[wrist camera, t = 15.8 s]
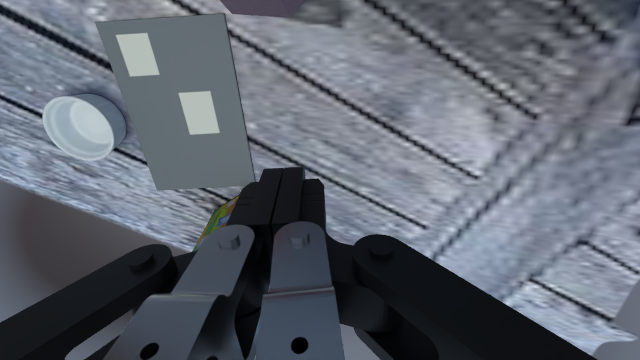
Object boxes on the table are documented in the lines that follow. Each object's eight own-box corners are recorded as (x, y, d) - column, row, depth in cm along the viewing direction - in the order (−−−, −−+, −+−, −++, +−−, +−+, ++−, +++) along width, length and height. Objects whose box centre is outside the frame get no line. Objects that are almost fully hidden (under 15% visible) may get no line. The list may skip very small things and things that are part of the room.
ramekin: (64, 134, 44) (40, 145, 40) (68, 78, 40) (42, 84, 36) (126, 158, 46) (109, 170, 42) (136, 106, 42) (118, 115, 38)
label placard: (97, 22, 37) (95, 22, 37) (224, 13, 37) (223, 13, 36) (158, 189, 48) (157, 190, 48) (256, 183, 48) (255, 185, 48)
